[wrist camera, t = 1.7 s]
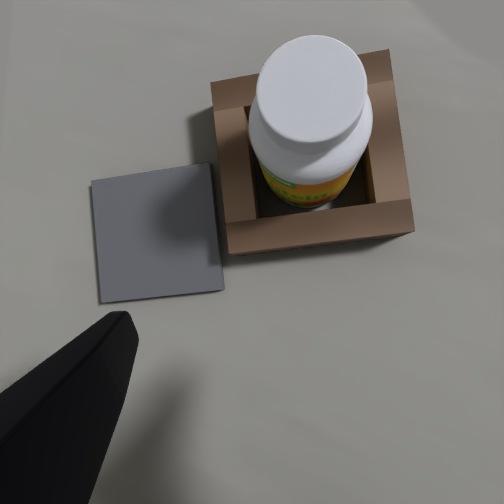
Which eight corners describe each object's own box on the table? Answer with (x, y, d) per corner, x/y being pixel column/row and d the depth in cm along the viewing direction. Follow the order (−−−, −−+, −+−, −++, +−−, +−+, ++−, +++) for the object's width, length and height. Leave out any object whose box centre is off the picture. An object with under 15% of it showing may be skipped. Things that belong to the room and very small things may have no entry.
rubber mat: (224, 289, 23) (222, 289, 22) (106, 302, 24) (101, 302, 23) (211, 164, 23) (209, 162, 23) (96, 183, 24) (91, 180, 24)
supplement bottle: (254, 197, 23) (218, 144, 13) (276, 115, 23) (257, 3, 13) (338, 218, 22) (366, 178, 12) (361, 133, 22) (407, 28, 13)
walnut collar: (402, 235, 21) (415, 231, 19) (237, 255, 23) (228, 253, 20) (379, 73, 22) (388, 49, 20) (220, 102, 23) (210, 82, 21)
